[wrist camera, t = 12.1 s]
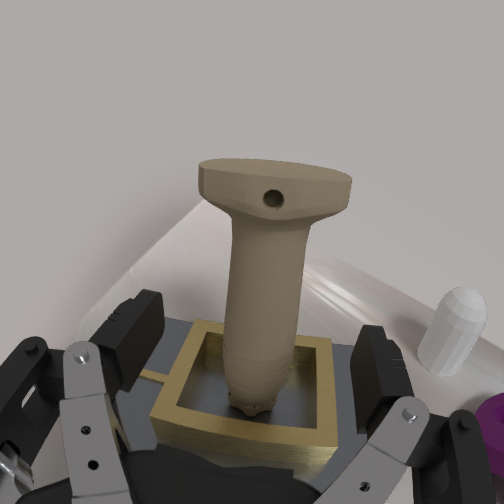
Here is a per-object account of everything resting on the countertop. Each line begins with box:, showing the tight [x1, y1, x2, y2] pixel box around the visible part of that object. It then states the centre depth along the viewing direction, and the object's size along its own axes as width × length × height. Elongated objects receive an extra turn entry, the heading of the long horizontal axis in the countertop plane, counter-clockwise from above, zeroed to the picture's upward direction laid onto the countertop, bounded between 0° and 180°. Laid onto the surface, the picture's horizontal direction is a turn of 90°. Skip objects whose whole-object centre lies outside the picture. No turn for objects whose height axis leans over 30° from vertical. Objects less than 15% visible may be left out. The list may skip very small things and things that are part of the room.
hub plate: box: [116, 317, 367, 493], centre depth 18 cm, size 18×14×4 cm
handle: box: [198, 159, 352, 416], centre depth 15 cm, size 5×6×15 cm
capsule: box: [417, 287, 487, 377], centre depth 22 cm, size 5×5×8 cm
